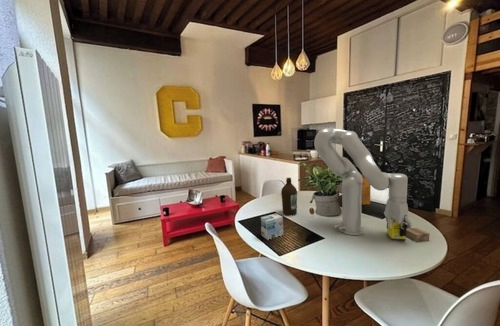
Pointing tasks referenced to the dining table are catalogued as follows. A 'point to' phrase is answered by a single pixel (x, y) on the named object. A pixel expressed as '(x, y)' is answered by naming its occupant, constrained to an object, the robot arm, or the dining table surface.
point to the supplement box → (394, 230)
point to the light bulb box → (272, 226)
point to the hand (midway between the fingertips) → (396, 232)
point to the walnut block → (417, 234)
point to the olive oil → (289, 198)
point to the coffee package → (365, 192)
